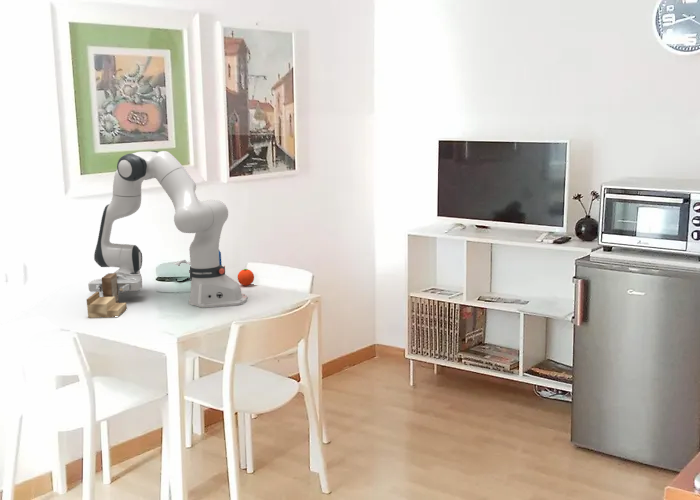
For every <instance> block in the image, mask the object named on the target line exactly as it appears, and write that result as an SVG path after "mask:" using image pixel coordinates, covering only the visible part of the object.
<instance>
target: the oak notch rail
mask: <svg viewBox="0 0 700 500" xmlns="http://www.w3.org/2000/svg"><path fill="white" fill-rule="evenodd" d="M86 307H87V318H89V319H91V318H92V319H95V318H96V319H97V318H99V319H101V318H100V317H103V318H116V317H115V316H119V315H120V314H121V313H122V314H123V313H125V311H126V309H127V310H128V306H127V302H119V303H116V299H115V297H103V296H100V292H93V294H92V295H90V296H89V297H88V298H86ZM122 314H121V315H122ZM121 315H120V316H121ZM120 316H119V317H120Z"/></svg>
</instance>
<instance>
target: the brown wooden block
mask: <svg viewBox="0 0 700 500" xmlns="http://www.w3.org/2000/svg"><path fill="white" fill-rule="evenodd" d="M101 279H102V288H103V291H102V297H115V299H116V303H120V301H119V300H120V298H119V293H118V286H117V274H116V273H114V272H113V273H112V272H111V273H109V272H108V273H107V274H105V275H104V276H103V277H101Z"/></svg>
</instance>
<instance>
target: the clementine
mask: <svg viewBox="0 0 700 500" xmlns="http://www.w3.org/2000/svg"><path fill="white" fill-rule="evenodd" d="M237 281H238V284H239V285H242V286H246V287H247V286H250V285H251V284H252V283H254V281H255V275H254V272H253V271H252V270H250V269H249V268H244V269H241V270H240V271H239V272H238V274H237Z"/></svg>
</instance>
